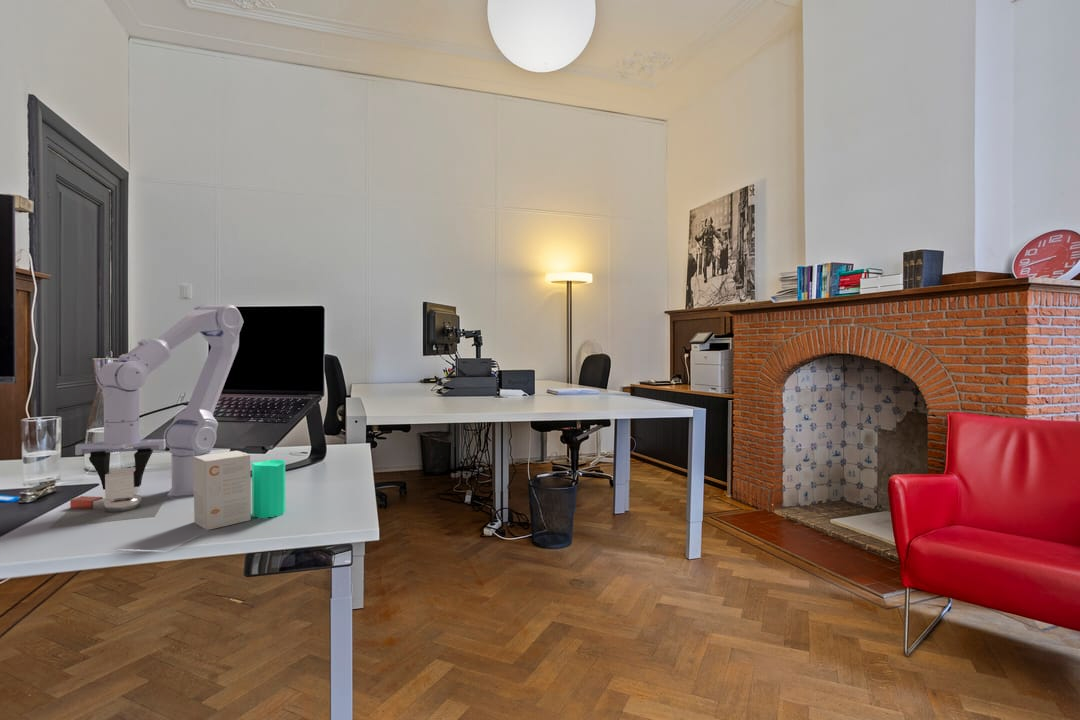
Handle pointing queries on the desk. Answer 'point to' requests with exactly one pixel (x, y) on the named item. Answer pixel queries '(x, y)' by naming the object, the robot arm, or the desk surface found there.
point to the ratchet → (107, 503)
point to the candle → (268, 488)
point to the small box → (222, 489)
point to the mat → (98, 515)
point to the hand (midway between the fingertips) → (122, 487)
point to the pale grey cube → (120, 483)
